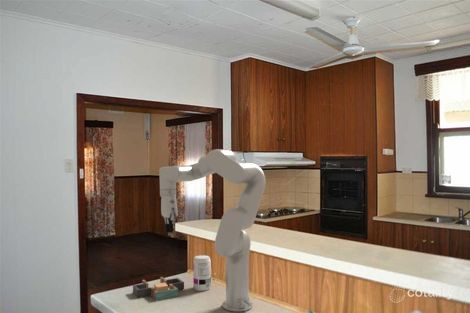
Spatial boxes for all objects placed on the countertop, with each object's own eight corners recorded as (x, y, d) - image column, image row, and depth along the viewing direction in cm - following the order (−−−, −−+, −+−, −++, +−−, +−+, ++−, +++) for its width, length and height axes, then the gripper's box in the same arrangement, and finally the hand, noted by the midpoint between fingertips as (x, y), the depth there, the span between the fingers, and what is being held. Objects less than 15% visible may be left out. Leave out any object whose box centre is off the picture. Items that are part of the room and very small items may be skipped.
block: (168, 297, 167) (168, 285, 168) (156, 298, 165) (156, 287, 165) (165, 293, 172) (165, 282, 172) (154, 295, 170) (154, 284, 170)
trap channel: (190, 294, 170) (190, 286, 170) (142, 303, 159) (142, 295, 159) (173, 282, 188) (173, 275, 188) (129, 289, 177) (129, 282, 177)
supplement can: (190, 290, 176) (190, 258, 176) (198, 285, 183) (198, 254, 184) (206, 292, 173) (206, 259, 173) (213, 286, 181) (213, 255, 181)
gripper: (181, 192, 171) (183, 233, 171) (169, 192, 184) (171, 229, 183) (166, 193, 168) (167, 235, 167) (155, 193, 180) (156, 231, 180)
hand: (169, 232), depth 175 cm, fingers closed
